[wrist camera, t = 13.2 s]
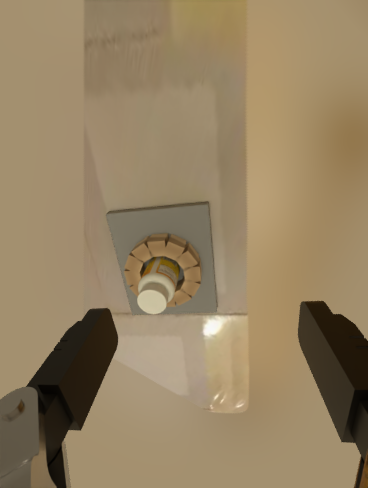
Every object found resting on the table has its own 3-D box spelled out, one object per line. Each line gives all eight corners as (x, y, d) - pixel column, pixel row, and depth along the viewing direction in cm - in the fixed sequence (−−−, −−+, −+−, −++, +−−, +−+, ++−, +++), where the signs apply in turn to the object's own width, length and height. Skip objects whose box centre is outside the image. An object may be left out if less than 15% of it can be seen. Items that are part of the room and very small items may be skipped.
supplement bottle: (177, 250, 39) (168, 283, 30) (182, 278, 41) (175, 317, 32) (145, 253, 39) (127, 287, 31) (152, 281, 42) (137, 319, 33)
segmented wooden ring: (123, 236, 39) (117, 244, 36) (197, 230, 37) (196, 238, 34) (138, 297, 43) (133, 308, 41) (204, 294, 42) (203, 305, 39)
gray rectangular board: (109, 211, 39) (105, 214, 37) (208, 201, 36) (208, 204, 35) (134, 309, 47) (132, 315, 45) (216, 306, 44) (217, 312, 43)
